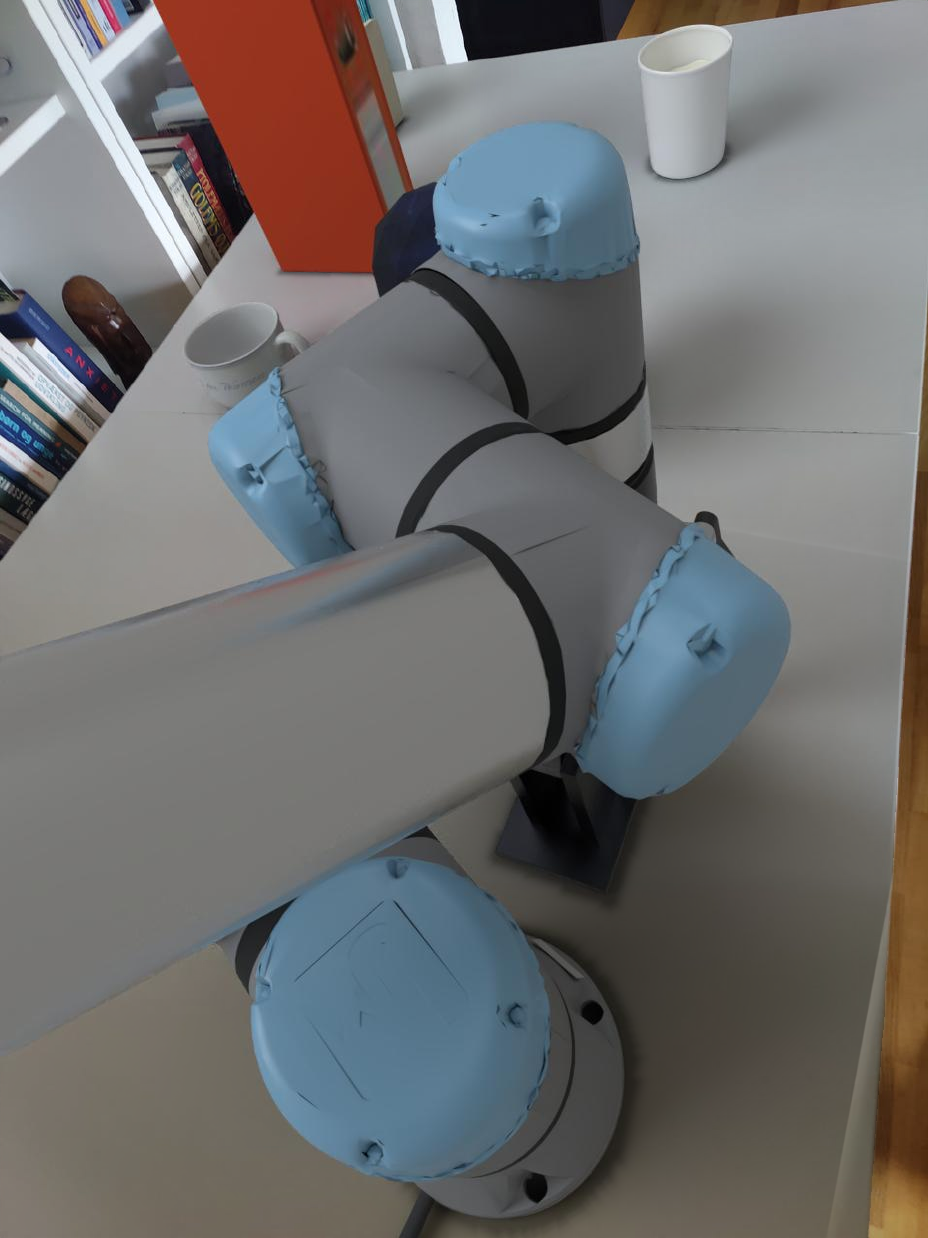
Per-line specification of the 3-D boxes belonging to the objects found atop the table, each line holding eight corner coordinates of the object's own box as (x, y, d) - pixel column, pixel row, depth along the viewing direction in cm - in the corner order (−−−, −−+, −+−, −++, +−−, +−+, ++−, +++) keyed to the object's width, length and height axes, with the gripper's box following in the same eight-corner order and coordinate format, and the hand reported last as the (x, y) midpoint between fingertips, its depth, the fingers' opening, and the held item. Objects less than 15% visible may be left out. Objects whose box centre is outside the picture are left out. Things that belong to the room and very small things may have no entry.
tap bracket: (547, 732, 64) (515, 644, 53) (652, 762, 60) (640, 674, 50) (498, 857, 59) (453, 787, 49) (607, 896, 56) (584, 831, 46)
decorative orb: (506, 204, 94) (400, 129, 84) (563, 270, 85) (451, 194, 75) (434, 312, 101) (327, 254, 91) (479, 383, 92) (367, 328, 82)
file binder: (403, 275, 100) (295, -41, 74) (281, 273, 107) (144, -18, 81) (427, 233, 104) (333, -83, 78) (308, 233, 111) (185, -58, 85)
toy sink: (364, 116, 124) (331, 16, 114) (406, 117, 121) (376, 14, 111) (334, 150, 121) (298, 50, 110) (376, 151, 118) (343, 49, 107)
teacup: (198, 414, 95) (161, 358, 89) (252, 349, 99) (220, 291, 93) (295, 436, 89) (262, 378, 83) (347, 366, 93) (320, 305, 87)
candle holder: (628, 160, 102) (620, 53, 92) (699, 125, 103) (698, 14, 93) (674, 194, 96) (669, 82, 87) (748, 156, 97) (752, 41, 87)
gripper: (852, 426, 40) (812, 652, 58) (401, 376, 50) (481, 581, 68) (819, 550, 37) (787, 750, 54) (344, 470, 47) (443, 660, 64)
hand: (617, 656), depth 61 cm, fingers open, 13 cm apart
